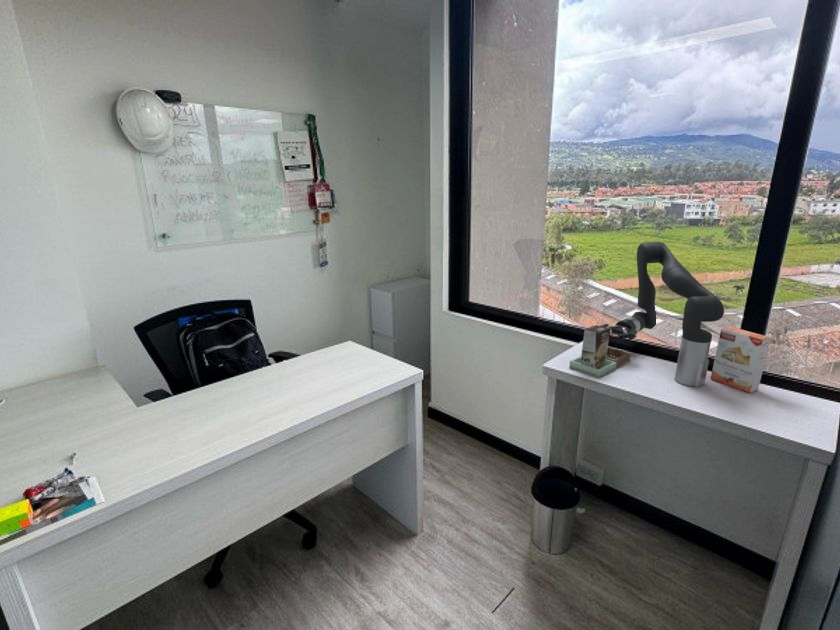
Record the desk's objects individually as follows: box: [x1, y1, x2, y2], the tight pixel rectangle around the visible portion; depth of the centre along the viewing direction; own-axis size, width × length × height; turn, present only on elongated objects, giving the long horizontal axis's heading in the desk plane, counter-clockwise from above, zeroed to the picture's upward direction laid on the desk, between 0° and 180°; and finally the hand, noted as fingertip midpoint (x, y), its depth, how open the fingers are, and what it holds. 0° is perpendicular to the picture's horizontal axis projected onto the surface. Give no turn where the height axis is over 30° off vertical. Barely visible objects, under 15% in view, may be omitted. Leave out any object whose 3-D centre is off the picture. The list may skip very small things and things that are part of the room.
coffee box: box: [580, 324, 611, 369], centre depth 177 cm, size 9×6×16 cm
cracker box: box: [710, 326, 772, 394], centre depth 162 cm, size 14×6×21 cm, turn 28°
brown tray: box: [606, 346, 632, 369], centre depth 187 cm, size 10×13×4 cm
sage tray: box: [568, 355, 617, 379], centre depth 179 cm, size 13×13×3 cm
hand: (609, 335), depth 183 cm, fingers open, 8 cm apart
